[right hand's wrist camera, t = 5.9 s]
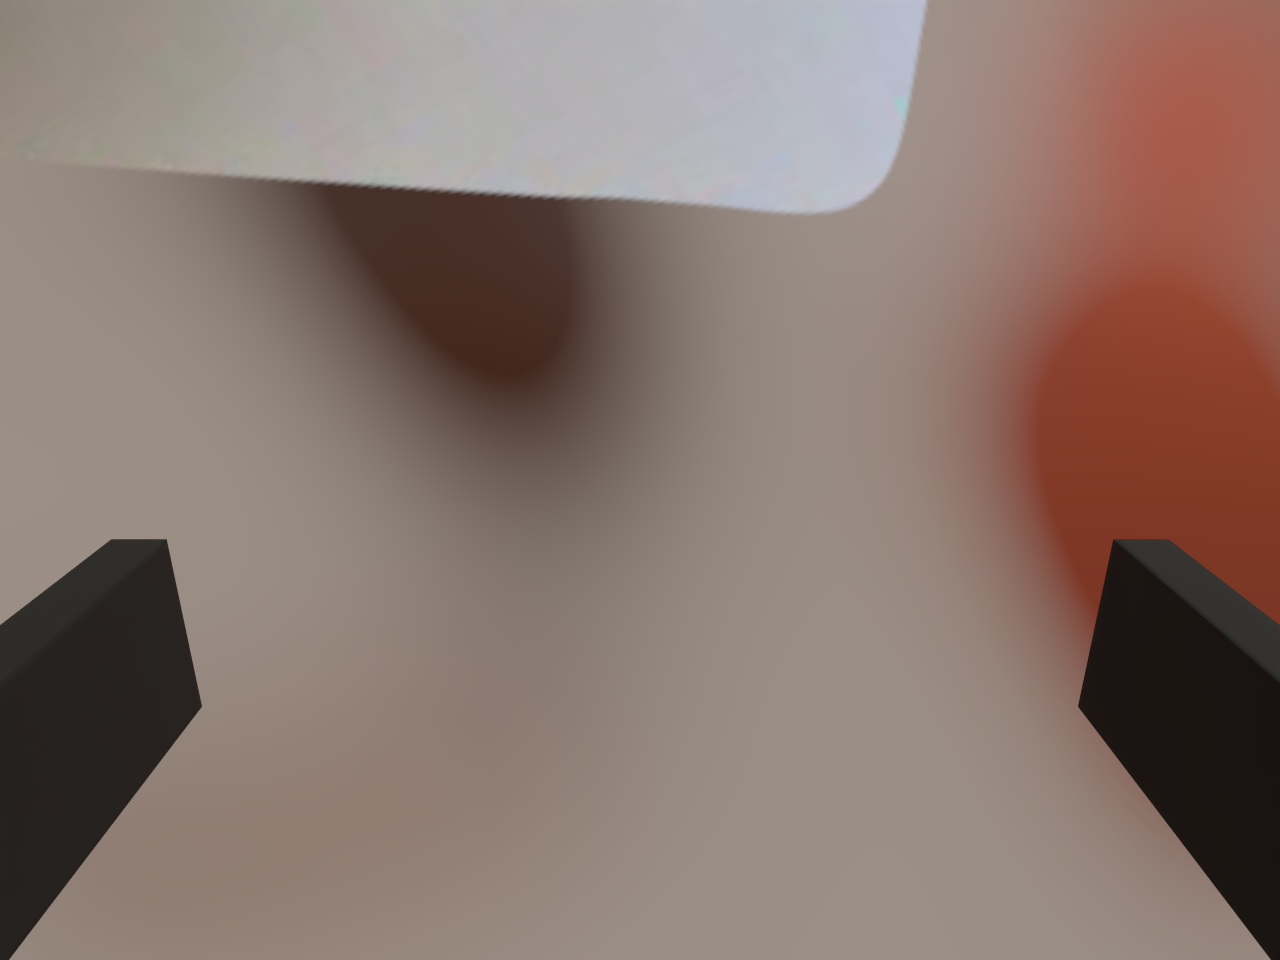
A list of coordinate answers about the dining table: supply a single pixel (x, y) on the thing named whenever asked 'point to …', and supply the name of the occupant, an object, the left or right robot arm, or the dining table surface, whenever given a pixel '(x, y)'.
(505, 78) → the dining table surface
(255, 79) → the dining table surface
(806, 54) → the dining table surface
